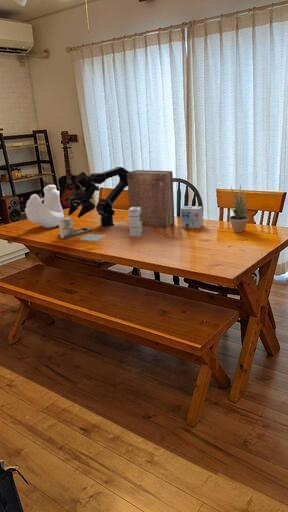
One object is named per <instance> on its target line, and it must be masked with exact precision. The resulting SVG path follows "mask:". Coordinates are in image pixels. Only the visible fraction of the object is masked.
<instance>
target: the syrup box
mask: <svg viewBox="0 0 288 512" xmlns="http://www.w3.org/2000/svg"><path fill="white" fill-rule="evenodd" d="M127 215H128V225H129V226H128V227H129V235H130V237H141V236H142V235H143V234H144V230H143V225H142V216H141V207H131V208H130V207H129V209H128V210H127Z"/></svg>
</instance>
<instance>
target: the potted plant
mask: <svg viewBox="0 0 288 512" xmlns="http://www.w3.org/2000/svg"><path fill="white" fill-rule="evenodd" d="M230 188H231V191H232V194H233V195H232V196H233V197H234V199H235V200H234V199H233V198H231V199H232V200H231V201H232V203H233V205H234V208H232V207H230V209H231V211H232V213H233V214H234V215H231V216H229V217H228V218H229V222H230V225H231V228H232V231H233V232H234V233H245V231H246V227H247V224H248V221H249V216H248V215H247V212H248V210H249V208H250V207H249V206H248V207H247V204H248V201H246V196H245V197H244V191H241V189H242V187H241V185H239V190H238V191H239V192H238V193H239V194H236V192H235V191H234V190H233V188H232V186H231V187H230ZM237 195H238V196H237ZM243 197H244V199H243ZM245 201H246V202H245Z"/></svg>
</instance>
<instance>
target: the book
mask: <svg viewBox="0 0 288 512" xmlns="http://www.w3.org/2000/svg"><path fill="white" fill-rule="evenodd" d="M173 177H174V176H173V171H172V170H148V169H147V170H144V169H143V170H142V169H137V170H132V171H129V172H127V181H128V186H127V191H128V203H129V209H130V208H131V207H141V216H142V226H147V227H156V228H162V229H167V227H168V226H170V225H175V223H176V222H175V204H174V203H175V201H174V200H175V199H174V198H175V197H174V180H173V179H174V178H173Z"/></svg>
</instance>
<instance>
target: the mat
mask: <svg viewBox="0 0 288 512" xmlns="http://www.w3.org/2000/svg"><path fill="white" fill-rule="evenodd" d="M104 237H107V234H97V233H95V234H94V233H93V234H92V233H91V234H90V233H87V234H86V235H84V236H83V237H80V238H79V239H78V241H89V242H99V241H101V240H102V239H103V238H104Z"/></svg>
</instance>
